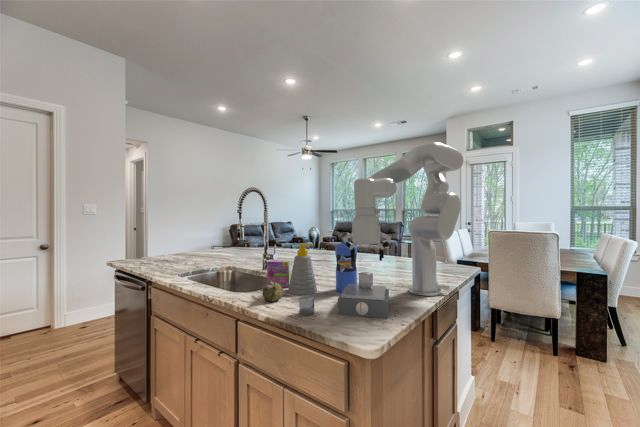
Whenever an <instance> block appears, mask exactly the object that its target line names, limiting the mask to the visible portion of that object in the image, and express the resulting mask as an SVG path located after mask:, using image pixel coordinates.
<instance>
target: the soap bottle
mask: <svg viewBox="0 0 640 427" xmlns="http://www.w3.org/2000/svg"><path fill="white" fill-rule="evenodd" d="M306 246H315V243H299V248H298V250H297V251H296V252H297V253H296V254H297V255H295V256H294V259H293V260H294V261H293V262H292V274H291V279H290V284H289V288H287V289H288V293H289V294H291V295H294V296H309V295H314V294H315V293H316V294H317V292H318V286H317V282H316V278H315V273H314V268H313V264H312V263H313V262H312V258H311V255H309V254H308V249H307V248H306Z"/></svg>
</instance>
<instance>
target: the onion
mask: <svg viewBox="0 0 640 427" xmlns="http://www.w3.org/2000/svg"><path fill="white" fill-rule="evenodd" d="M274 282H275V281H274ZM274 282H272V280H270V281H269V284H268V285H267V284H266V285H265V286H264V287H263V289H262V297H263V298H264V299H265V301H267V302H276V301H279V300H280V299H281V298H282V297H283V294H284V287H282V286H281V285H279V284H278V283H276V282H275V283H274Z"/></svg>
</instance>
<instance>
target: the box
mask: <svg viewBox="0 0 640 427" xmlns="http://www.w3.org/2000/svg"><path fill="white" fill-rule="evenodd" d="M292 270H293V260H292V259H269V260H267V261H266V273H267V274H266V277H267V279H266V280H267V281H266V282H267V284H266V285H268V284H269V281H270V280H272V282H274V281H275V282H276V283H278V284H279V285H281V286H282V287H283V288H287V289H289V284H290V279H291V274H292ZM275 282H274V283H275Z"/></svg>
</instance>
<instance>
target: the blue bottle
mask: <svg viewBox="0 0 640 427" xmlns="http://www.w3.org/2000/svg"><path fill="white" fill-rule="evenodd" d="M348 234H350V233H349V232H348V231H345V232H342V234H341V236H342V237H340V239H341V240H340V243H339V244H337V245H335V246H334V247H335V252H334V253H335V259H336V265H335V266H336V267H335V291H336V293H339V294H341V293H342V292H343V290H344V289H345V287H346V286H347V285H348V284H355V285H358V269H357V254H358V246H357V245H355V247H354V249H355V258H356V259H355V260H354V261H353V260H352V258H351V250H350V249H349V248H348V247H347V246H346V244H345V242H344V241H343V237H345V236H347V235H348ZM348 242H349V243H350V244H351V245H352V244H353V242H352V237H350V238H348Z"/></svg>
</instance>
